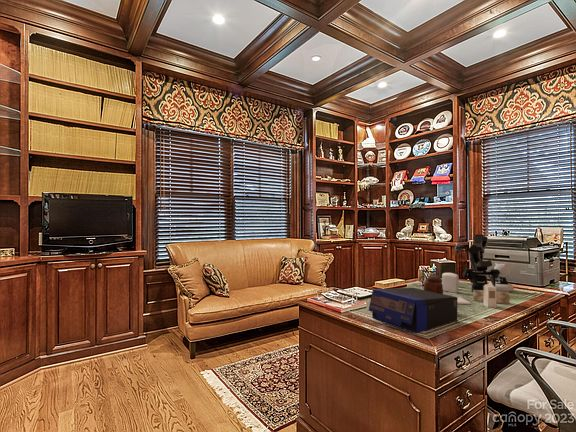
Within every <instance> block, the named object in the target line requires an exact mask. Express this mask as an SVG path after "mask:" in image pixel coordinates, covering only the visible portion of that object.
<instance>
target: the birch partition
mask: <svg viewBox="0 0 576 432" xmlns="http://www.w3.org/2000/svg"><path fill="white" fill-rule="evenodd" d="M510 299H511V294H510V292H499V291H496V303H498V304H499V303H501V304H510V303H511V300H510ZM473 301H476V302H484V291H481V290H474V292H473Z"/></svg>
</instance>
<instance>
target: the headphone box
mask: <svg viewBox="0 0 576 432" xmlns="http://www.w3.org/2000/svg"><path fill="white" fill-rule="evenodd" d="M457 297H458V296H452V295H448V294H445V293H443V294H440V293H435V292H431V291H426V290H424V289H421V288H416V287H398V288H397V287H396V288H373V289H372V292H371V297H370V302H369V305H368V306H369V307H368V311H369V312H371V314H372V315H371V318H372V319H374V320H377V321H380V322H383V323H386V324H389V325H391V326H394V327H397V328H399V329H401V330H405V331H408V332H410V333H414V334H419V333H422V332H425V331H429V330H431V329H434V328H439V327H442V326H444V325H447V324H451V323H454V322H456V321H458V304H457Z"/></svg>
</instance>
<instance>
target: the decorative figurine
mask: <svg viewBox="0 0 576 432" xmlns="http://www.w3.org/2000/svg"><path fill="white" fill-rule="evenodd" d="M494 265H495V266H494V267H493V269H498V270H499V271H500V274H499V276H498V277H497V278H496V279H495V287H496V292H509V293H510V292H513V291H514V288H515V286H514V285H513V284H512V283H509V282H508V280H507V277H508V276H510V274H511V268H510V266H508V262H507V261H505V263H497V262H494ZM487 286H493V284H492V283H491V281H490V282H487Z"/></svg>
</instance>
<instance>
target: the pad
mask: <svg viewBox="0 0 576 432" xmlns="http://www.w3.org/2000/svg"><path fill="white" fill-rule="evenodd" d="M456 297H457V305H471V304H472V303H471V301H468V300H467V299H465V298H463V297H461V296H456Z"/></svg>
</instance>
